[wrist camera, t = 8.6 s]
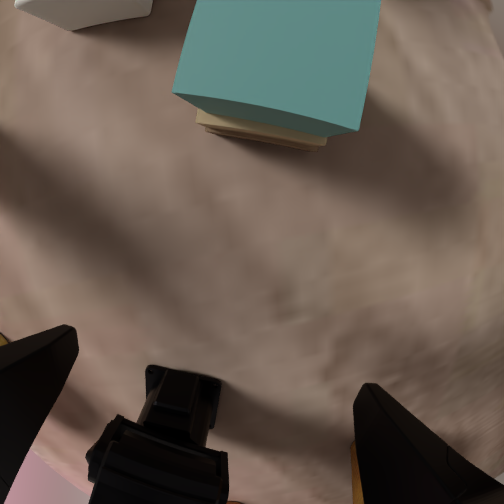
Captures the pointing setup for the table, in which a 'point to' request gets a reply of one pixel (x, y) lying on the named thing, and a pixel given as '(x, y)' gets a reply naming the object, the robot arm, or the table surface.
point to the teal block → (281, 61)
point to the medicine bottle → (84, 11)
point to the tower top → (257, 128)
